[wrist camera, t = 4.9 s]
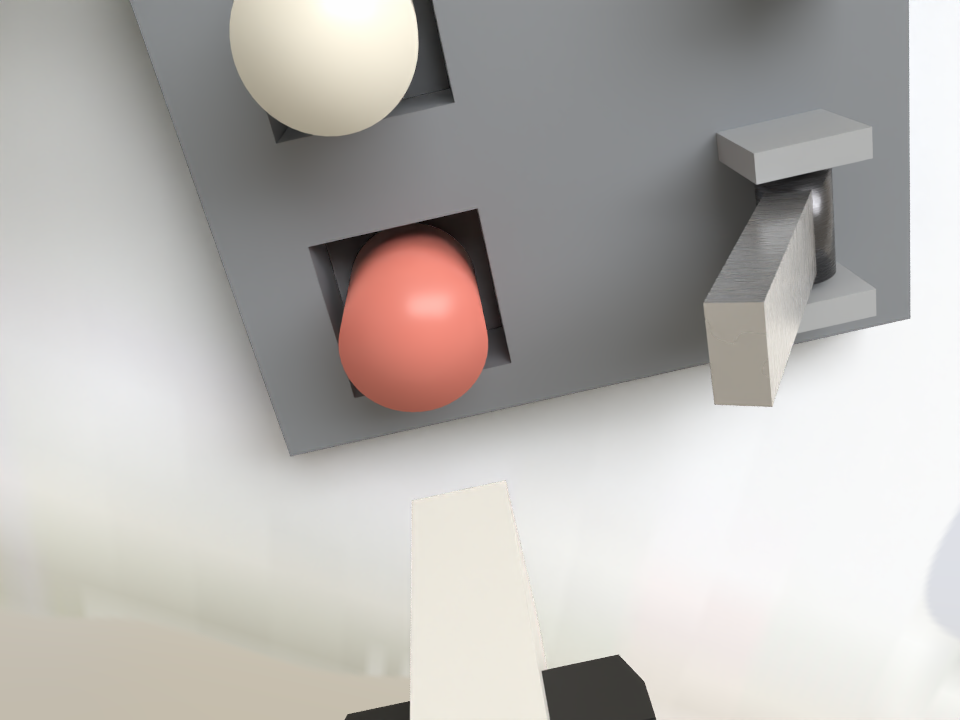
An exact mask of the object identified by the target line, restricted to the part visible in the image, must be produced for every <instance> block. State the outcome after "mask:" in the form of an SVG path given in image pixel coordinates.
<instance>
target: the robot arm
mask: <svg viewBox="0 0 960 720" xmlns="http://www.w3.org/2000/svg"><path fill="white" fill-rule="evenodd" d="M345 720H656V717H655V714H654V711H653V708H652V705H651V701H650V698H649V695H648V692H647V689H646V686H645V683H644V681H643V680H642V679H641V678H640V677H639V676H638V675H637V674H636V673H635V671H634V670H633V669H632V668H631V667H630V666H629V665H628V664H627V663H626V662H625V661H624V660H623V659H622V658H621V657H620V656H619V655H614V656H609V657H605V658H600V659H595V660H590V661H586V662H581V663H576V664H572V665H567V666H562V667H557V668H553V669H547V664H546V659H545V653H544V648H543V643H542V637H541V632H540V627H539V621H538V616H537V611H536V607H535V603H534V599H533V594H532V590H531V586H530V582H529V577H528V573H527V569H526V565H525V560H524V556H523V552H522V548H521V543H520V539H519V535H518V531H517V526H516V522H515V518H514V513H513V509H512V505H511V501H510V496H509V492H508V488H507V484H506V480H505V481H500V482H495V483H491V484H486V485H482V486H477V487H472V488H468V489H463V490H459V491H454V492H449V493H445V494H440V495H436V496H431V497H426V498H422V499H417V500H413V501H412V530H411V652H410V701H408V702H404V703H399V704H394V705H390V706H385V707H380V708H375V709H371V710H366V711H361V712H356V713H352V714H348V715H347V717H346V718H345Z"/></svg>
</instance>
